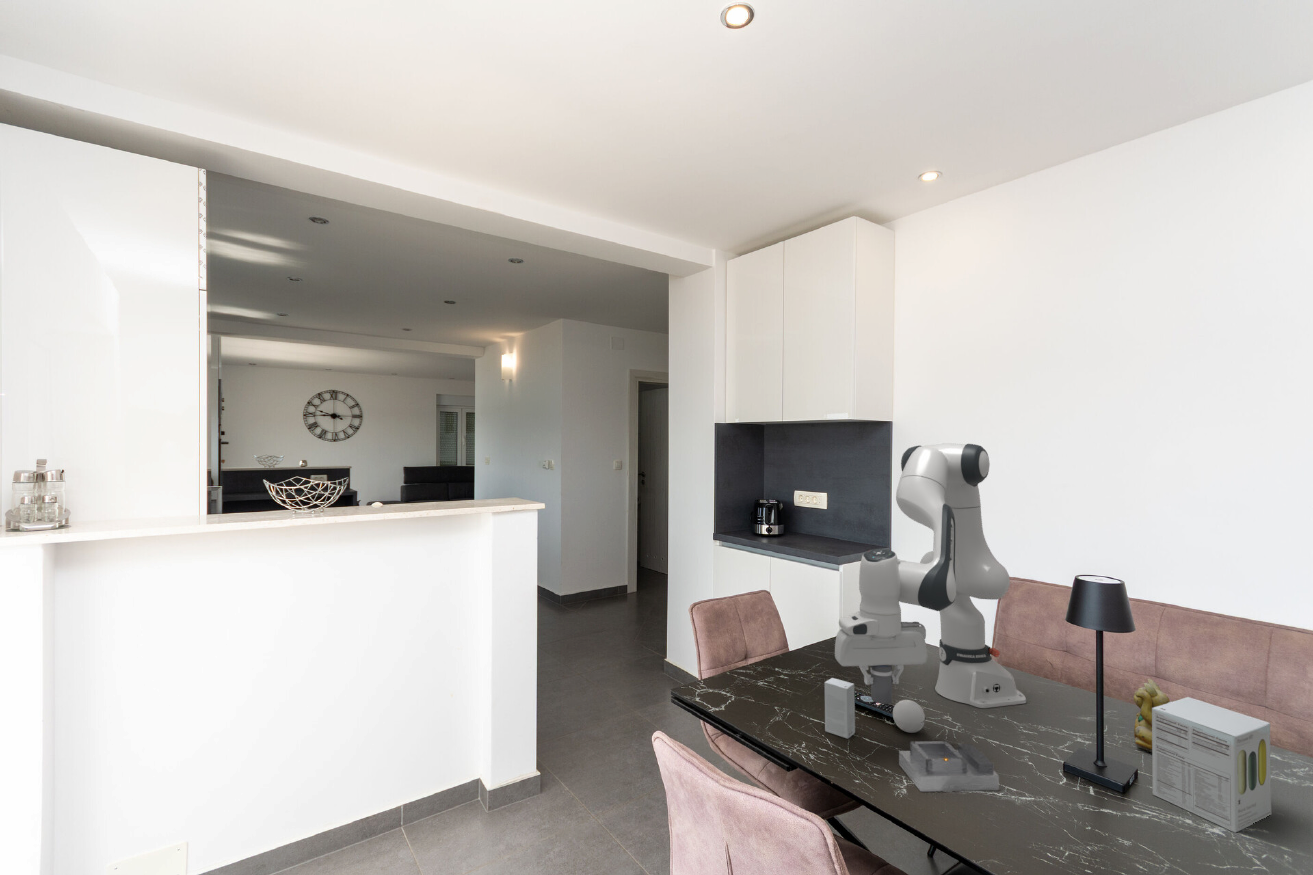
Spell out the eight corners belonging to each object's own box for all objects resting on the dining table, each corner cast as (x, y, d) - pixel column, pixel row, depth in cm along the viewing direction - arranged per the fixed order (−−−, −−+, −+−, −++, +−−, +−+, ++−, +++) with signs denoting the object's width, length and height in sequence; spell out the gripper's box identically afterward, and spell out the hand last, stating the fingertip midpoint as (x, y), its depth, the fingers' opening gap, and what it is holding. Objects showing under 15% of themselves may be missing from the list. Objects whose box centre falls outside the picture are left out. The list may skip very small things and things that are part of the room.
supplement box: (1236, 834, 106) (1235, 736, 106) (1151, 794, 118) (1150, 706, 118) (1273, 816, 111) (1272, 722, 112) (1188, 779, 124) (1187, 695, 124)
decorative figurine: (1136, 735, 142) (1136, 672, 143) (1182, 747, 136) (1181, 682, 137) (1130, 749, 136) (1130, 683, 136) (1178, 763, 130) (1177, 694, 130)
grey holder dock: (971, 763, 130) (971, 737, 130) (998, 790, 120) (998, 761, 120) (899, 764, 129) (898, 738, 130) (920, 791, 119) (920, 762, 120)
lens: (887, 695, 137) (886, 659, 137) (896, 703, 132) (895, 667, 132) (867, 695, 137) (867, 660, 137) (875, 704, 132) (875, 667, 132)
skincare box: (855, 733, 144) (855, 683, 144) (847, 739, 141) (847, 688, 141) (832, 725, 148) (831, 676, 148) (824, 731, 145) (823, 681, 145)
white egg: (919, 741, 140) (919, 710, 140) (888, 731, 145) (887, 701, 145) (933, 726, 147) (933, 697, 147) (903, 717, 152) (903, 688, 152)
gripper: (918, 617, 138) (919, 676, 138) (831, 619, 138) (832, 679, 138) (932, 625, 132) (933, 687, 132) (841, 627, 131) (842, 690, 131)
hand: (881, 683), depth 135 cm, fingers closed on lens, 4 cm apart
